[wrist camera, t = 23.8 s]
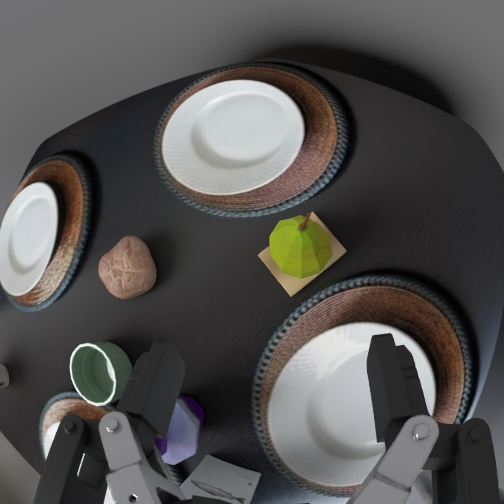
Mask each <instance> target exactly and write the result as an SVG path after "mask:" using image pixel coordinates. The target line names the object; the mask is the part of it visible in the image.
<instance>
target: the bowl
mask: <svg viewBox="0 0 504 504" xmlns="http://www.w3.org/2000/svg"><path fill="white" fill-rule="evenodd" d="M131 372H133V367H132V365H131V362H130V360H129V358H128V356H127V355H126V354H125V352H124V351H123V350H122V349H121V348H120V347H118V346H117V345H115V344H114V343H109V342H93V343H84V344H80V345H79V346H78V347H77V348H76V349H75V350H74V352H73V354H72V356H71V360H70V373H71V379H72V381H73V384H74V386H75V388H76V390H77V391H78V393H79V394H80V396H81V397H82V398H84V399H85V400H86V401H87V402H88V403H91V404H93V405H96V406H102V405H107V404H109V403H112V402H115V401H118V400H120V398H121V396H122V393H123V391H124V389H125V386H126V384H127V382H128V380H129V377H130V375H131Z"/></svg>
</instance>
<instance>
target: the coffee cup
mask: <svg viewBox="0 0 504 504" xmlns="http://www.w3.org/2000/svg"><path fill="white" fill-rule="evenodd" d="M8 384H9V375H8V371H7V369H6V367H5V366H4V365H2V364H0V387H4V386H8Z"/></svg>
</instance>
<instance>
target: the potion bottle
mask: <svg viewBox="0 0 504 504" xmlns="http://www.w3.org/2000/svg"><path fill="white" fill-rule="evenodd" d="M205 414H206V410H205V409H204V407H203V406H202V405H201V404H200V402H199V401H198V400H197V399H196V397H195V396H191V395H186V394H182V393H179V395H178V398H177V402H176V405H175V408H174V412H173V415H172V418H171V422H170V425H169V429H168V432H167V435H166V439H164V438H159V437H156V440H155V444H156V446H157V448H158V451H159V453H160V455H161V457H162V459H163V462H166V463H169V464H173V465H175V464H177V463H179V462H181V461H183V460H185V459H186V458H188V457H190V456H192V455H194V454H195V453H196V450H197V447H198V444H199V441H200V432H201V430H202V427H203V426H204V425H205Z"/></svg>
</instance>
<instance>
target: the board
mask: <svg viewBox="0 0 504 504" xmlns="http://www.w3.org/2000/svg"><path fill="white" fill-rule="evenodd" d="M309 218H310V219H311V220H312V221H314V222H317V223H318V224H319V225H320V226H321V227H322V229H323V230H324V231H325V232H326V233H327V235H328V236H329V237H330V243H331V250H332V257H331V258H330V260H329V261H328V262H327V264H326V265H325V266H324V268H323V269H322V270H321V272H320V273H317V274H315V275H312V276H309V277H306V278H303V279H300V278H297V277H294V276H290V275H287V274H284V273H283V272H282V271H281V270H280V268H279V267H278V265H277V264H276V263H275V261H274V260H273V258H272V257H271V256H270V246H268V247H267V248H266V249H265V250H263V251H262V252H261V253H260V254H258V256H259V257H260V258H261V260H262V261H263V262H264V263H265V265H266V266H267V267H268V268H269V270H270V271H271V272H272V273H273V275H274V276H275V277H276V279H277V280H278V281H279V282H280V284H281V285H282V286H283V287H284V289H285V290H286V291H287V293H288V294H289V295H290V296H291V297H292V296H294V295H295V294H296V293H298V292H299V291H300V290H301V289H303V288H304V287H305V286H306V285H308V284H309V283H310V282H311V281H312V280H314V279H315V278H316V277H317V276H319V275H320V274H321V273H322V272H323V271H325V270H326V269H327V268H328V267H330V266H331V265H332V264H333V263H334V262H336V261H337V260H338V259H339V258H340V257H341V256H343V255H344V254H345V253H346V250H345V248H344V247H343V246H342V245H341V244H340V242H339V241H338V240H337V239H336V238H335V237H334V235H333V234H332V233H331V232H330V231H329V230H328V229H327V227H326V226H325V225H324V224H323V223H322V222H321V221H320V219H319V218H318V217H317V216H316V215H315V214H314V213H313V212H311V214H310V217H309Z"/></svg>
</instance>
